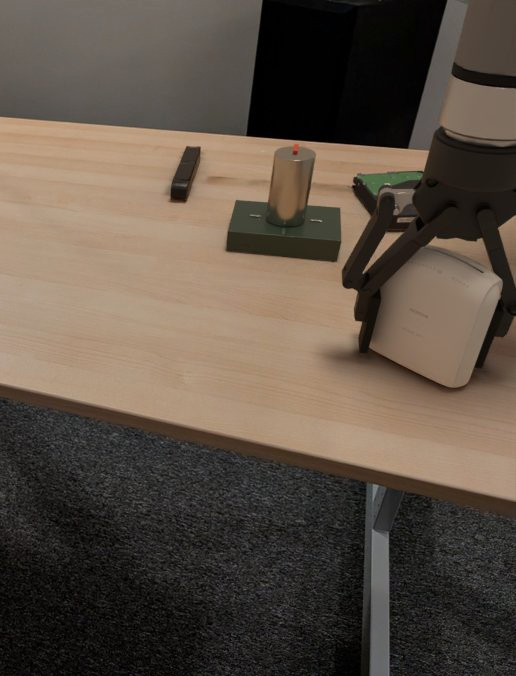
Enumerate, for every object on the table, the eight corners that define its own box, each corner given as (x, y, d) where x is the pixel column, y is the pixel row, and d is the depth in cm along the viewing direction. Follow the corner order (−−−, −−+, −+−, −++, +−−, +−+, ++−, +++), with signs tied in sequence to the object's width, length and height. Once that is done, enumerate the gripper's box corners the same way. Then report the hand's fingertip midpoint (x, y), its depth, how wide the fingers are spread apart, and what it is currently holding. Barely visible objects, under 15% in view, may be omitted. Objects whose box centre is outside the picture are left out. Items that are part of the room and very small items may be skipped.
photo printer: (357, 346, 68) (382, 241, 61) (381, 330, 70) (409, 227, 63) (452, 396, 61) (494, 284, 54) (477, 377, 63) (521, 266, 56)
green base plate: (336, 227, 91) (340, 206, 89) (337, 261, 83) (341, 239, 81) (233, 218, 95) (236, 198, 93) (225, 251, 87) (227, 229, 85)
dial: (303, 228, 85) (315, 159, 79) (264, 225, 86) (273, 156, 81) (305, 212, 88) (317, 145, 83) (267, 209, 90) (276, 142, 84)
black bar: (186, 203, 100) (187, 184, 98) (169, 202, 101) (170, 183, 99) (200, 160, 114) (202, 143, 112) (186, 160, 114) (186, 143, 113)
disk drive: (461, 231, 88) (418, 186, 100) (468, 212, 86) (422, 168, 98) (383, 233, 89) (349, 188, 101) (388, 215, 87) (352, 171, 99)
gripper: (637, 120, 52) (536, 345, 65) (339, 111, 58) (302, 318, 71) (675, 154, 46) (556, 393, 59) (340, 140, 52) (300, 359, 66)
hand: (417, 352), depth 65 cm, fingers closed on photo printer, 9 cm apart
